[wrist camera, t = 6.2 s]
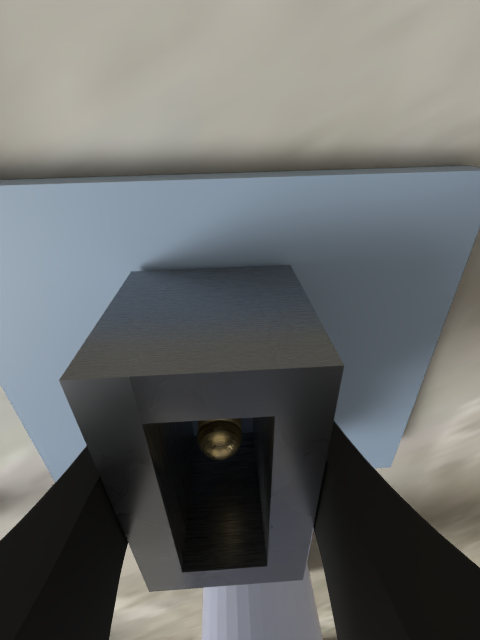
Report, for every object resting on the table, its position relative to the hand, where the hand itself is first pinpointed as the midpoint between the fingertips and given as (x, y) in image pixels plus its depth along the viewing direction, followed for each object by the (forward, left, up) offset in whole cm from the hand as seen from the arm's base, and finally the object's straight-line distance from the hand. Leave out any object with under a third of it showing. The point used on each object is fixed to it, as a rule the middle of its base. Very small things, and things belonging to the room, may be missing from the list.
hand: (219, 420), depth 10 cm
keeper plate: (0, 0, -4) cm, 4 cm away
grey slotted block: (0, 0, -2) cm, 2 cm away
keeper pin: (0, 0, -2) cm, 2 cm away
